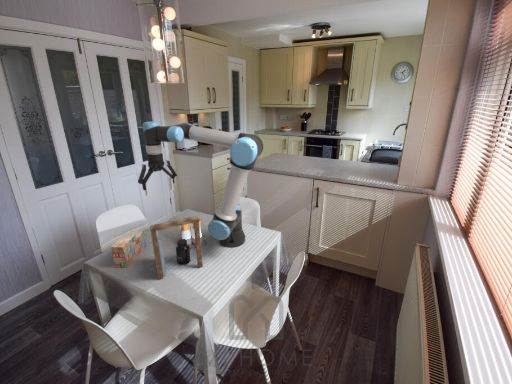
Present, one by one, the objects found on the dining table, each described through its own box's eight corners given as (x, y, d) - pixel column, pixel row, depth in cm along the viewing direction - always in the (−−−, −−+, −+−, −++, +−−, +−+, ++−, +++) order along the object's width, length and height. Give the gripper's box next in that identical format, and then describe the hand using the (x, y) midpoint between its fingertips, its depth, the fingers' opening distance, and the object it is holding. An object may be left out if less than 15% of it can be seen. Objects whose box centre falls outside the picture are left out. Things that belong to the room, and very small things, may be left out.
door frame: (201, 264, 136) (197, 215, 126) (202, 267, 134) (198, 217, 125) (158, 277, 127) (149, 225, 118) (158, 279, 125) (150, 227, 116)
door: (156, 260, 139) (151, 229, 133) (161, 259, 140) (156, 228, 134) (160, 276, 127) (155, 242, 120) (166, 274, 128) (161, 241, 121)
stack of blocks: (135, 245, 154) (132, 226, 150) (146, 245, 154) (143, 226, 150) (115, 268, 134) (110, 246, 130) (127, 268, 134) (123, 246, 130)
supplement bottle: (177, 266, 134) (174, 245, 130) (177, 259, 141) (174, 238, 137) (191, 264, 136) (189, 243, 132) (190, 257, 142) (188, 236, 138)
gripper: (174, 148, 147) (178, 185, 154) (126, 155, 131) (133, 196, 139) (180, 150, 142) (184, 188, 149) (131, 158, 126) (139, 200, 133)
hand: (160, 192), depth 144 cm, fingers open, 13 cm apart
